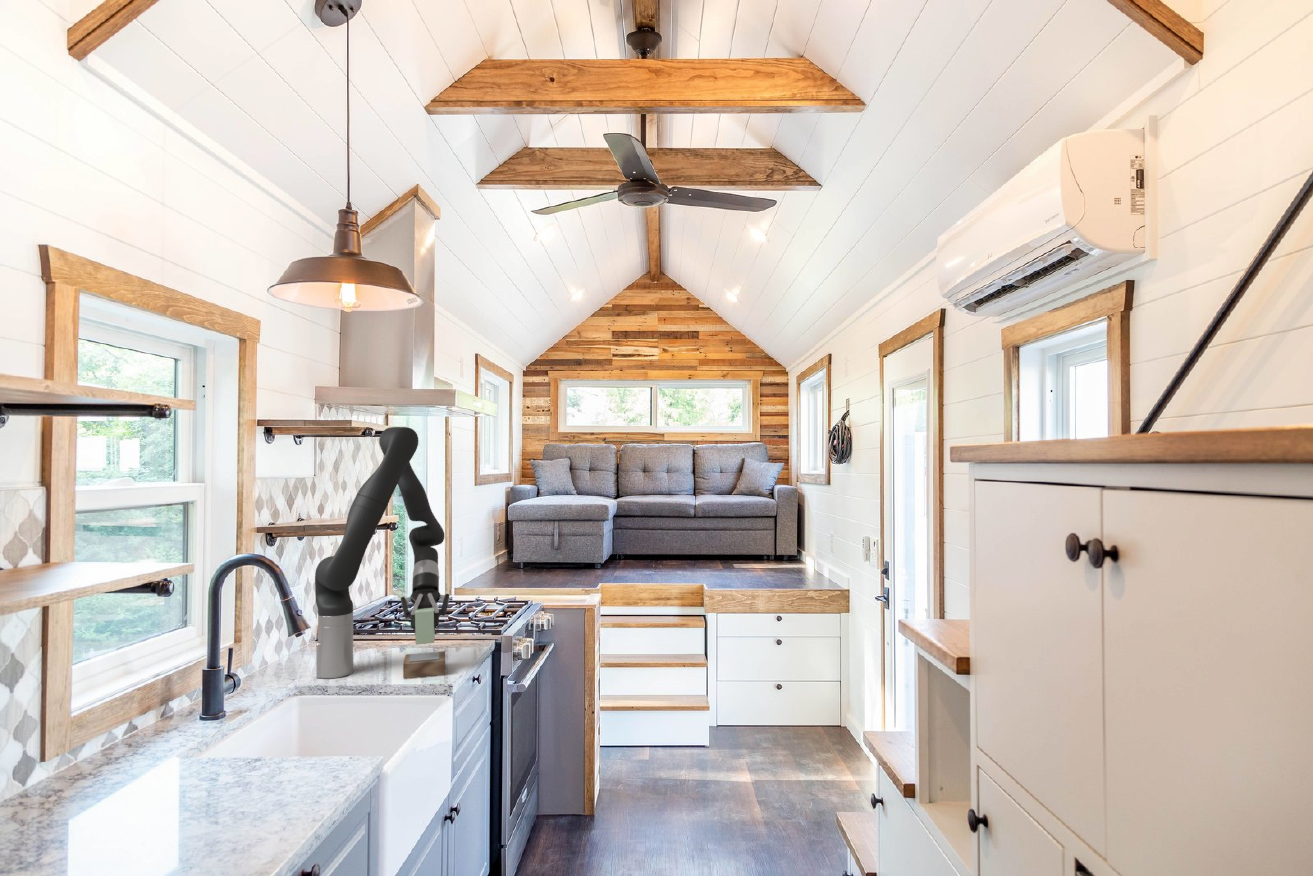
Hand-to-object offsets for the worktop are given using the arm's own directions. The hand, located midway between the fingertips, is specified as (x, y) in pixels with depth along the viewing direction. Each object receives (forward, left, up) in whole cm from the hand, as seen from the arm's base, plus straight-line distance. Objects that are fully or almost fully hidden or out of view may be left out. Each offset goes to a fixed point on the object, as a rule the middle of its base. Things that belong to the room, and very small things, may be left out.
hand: (424, 627), depth 203 cm
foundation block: (0, +2, -13) cm, 13 cm away
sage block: (0, +2, -4) cm, 5 cm away
